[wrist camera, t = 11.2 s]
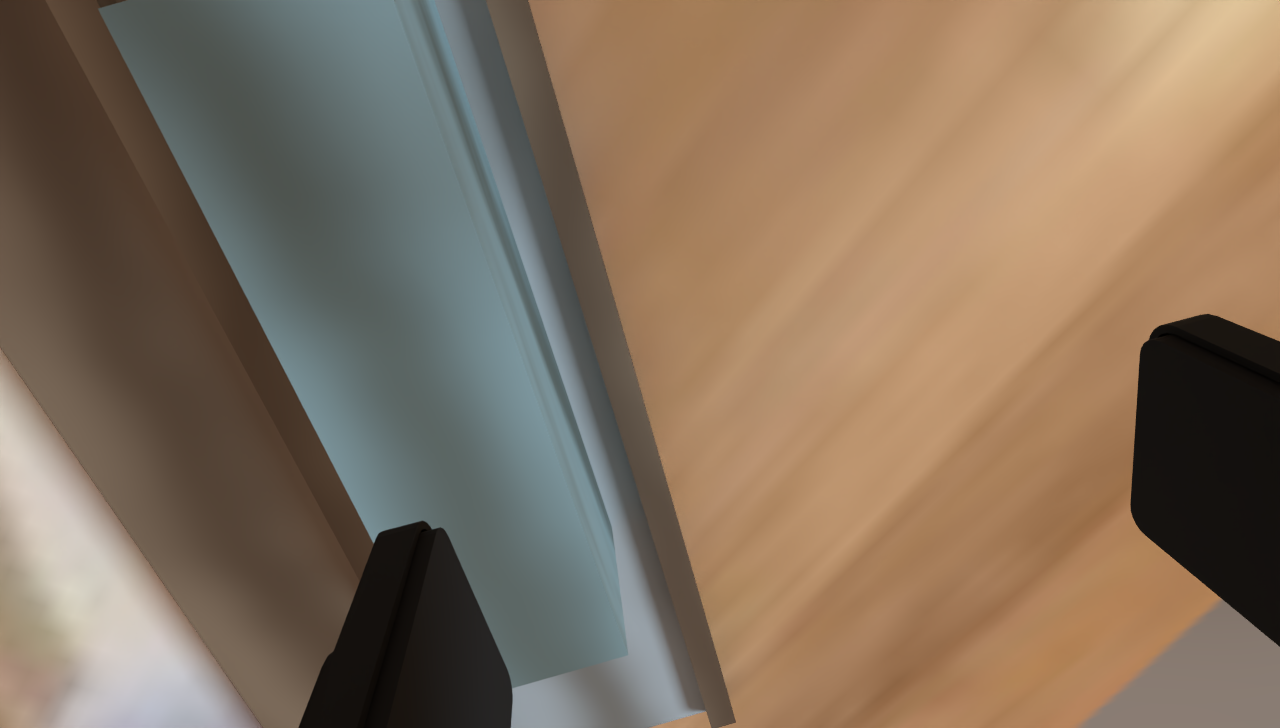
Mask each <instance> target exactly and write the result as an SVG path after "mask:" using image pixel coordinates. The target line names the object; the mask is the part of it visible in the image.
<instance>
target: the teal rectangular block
mask: <svg viewBox="0 0 1280 728" xmlns="http://www.w3.org/2000/svg"><path fill="white" fill-rule="evenodd" d="M98 10H99V12H100V14H101V16H102V18H103V20H104V22H105V24H106V26H107V27H108V29H109V31H110V33H111V35H112V37H113V39H114V41H115V43H116V45H117V47H118V49H119V51H120V53H121V55H122V57H123V59H124V60H125V62H126V64H127V66H128V68H129V70H130V72H131V74H132V76H133V78H134V80H135V82H136V84H137V86H138V88H139V90H140V91H141V93H142V95H143V97H144V99H145V101H146V103H147V105H148V107H149V109H150V111H151V113H152V115H153V117H154V119H155V121H156V123H157V124H158V126H159V128H160V130H161V132H162V134H163V136H164V138H165V140H166V142H167V144H168V146H169V148H170V150H171V152H172V154H173V155H174V157H175V159H176V161H177V163H178V165H179V167H180V169H181V171H182V173H183V175H184V177H185V179H186V181H187V183H188V185H189V186H190V188H191V190H192V192H193V194H194V196H195V198H196V200H197V202H198V204H199V206H200V208H201V210H202V212H203V214H204V216H205V218H206V219H207V221H208V223H209V225H210V227H211V229H212V231H213V233H214V235H215V237H216V239H217V241H218V243H219V245H220V247H221V249H222V250H223V252H224V254H225V256H226V258H227V260H228V262H229V264H230V266H231V268H232V270H233V272H234V274H235V276H236V278H237V280H238V282H239V283H240V285H241V287H242V289H243V291H244V293H245V295H246V297H247V299H248V301H249V303H250V305H251V307H252V309H253V311H254V313H255V314H256V316H257V318H258V320H259V322H260V324H261V326H262V328H263V330H264V332H265V334H266V336H267V338H268V340H269V342H270V344H271V346H272V347H273V349H274V351H275V353H276V355H277V357H278V359H279V361H280V363H281V365H282V367H283V369H284V371H285V373H286V375H287V377H288V378H289V380H290V382H291V384H292V386H293V388H294V390H295V392H296V394H297V396H298V398H299V400H300V402H301V404H302V406H303V408H304V409H305V411H306V413H307V415H308V417H309V419H310V421H311V423H312V425H313V427H314V429H315V431H316V433H317V435H318V437H319V439H320V441H321V442H322V444H323V446H324V448H325V450H326V452H327V454H328V456H329V458H330V460H331V462H332V464H333V466H334V468H335V470H336V472H337V473H338V475H339V477H340V479H341V481H342V483H343V485H344V487H345V489H346V491H347V493H348V495H349V497H350V499H351V501H352V503H353V505H354V506H355V508H356V510H357V512H358V514H359V516H360V518H361V520H362V522H363V524H364V526H365V528H366V530H367V532H368V534H369V536H370V537H371V539H372V541H373V543H374V542H375V539H376V537H377V535H378V534H379V533H380V532H382V531H385V530H388V529H392V528H396V527H400V526H404V525H407V524H411V523H415V522H419V521H425V522H427V523H428V524H429V525H430V527H431V528H432V529H436V528H440V527H441V528H443V529H444V530H445V531H446V533H447V535H448V536H449V539H450V541H451V543H452V545H453V548H454V550H455V552H456V554H457V557H458V559H459V561H460V563H461V566H462V568H463V570H464V573H465V575H466V577H467V579H468V582H469V584H470V586H471V588H472V591H473V593H474V595H475V597H476V600H477V602H478V604H479V606H480V609H481V611H482V613H483V615H484V618H485V620H486V622H487V624H488V627H489V629H490V631H491V633H492V636H493V638H494V640H495V643H496V645H497V647H498V649H499V652H500V654H501V656H502V658H503V661H504V663H505V665H506V667H507V670H508V672H509V676H510V679H511V685H512V688H515V687H519V686H522V685H526V684H529V683H533V682H536V681H540V680H543V679H547V678H550V677H554V676H557V675H561V674H564V673H568V672H571V671H575V670H578V669H582V668H585V667H589V666H592V665H596V664H599V663H603V662H606V661H610V660H613V659H617V658H620V657H624V656H627V655H628V648H627V640H626V633H625V625H624V617H623V609H622V602H621V594H620V586H619V578H618V571H617V563H616V555H615V547H614V539H613V532H612V526H611V523H610V520H609V517H608V514H607V511H606V508H605V505H604V502H603V499H602V496H601V493H600V490H599V487H598V484H597V481H596V478H595V475H594V472H593V469H592V466H591V464H590V461H589V458H588V455H587V452H586V449H585V446H584V443H583V440H582V437H581V434H580V431H579V428H578V425H577V422H576V419H575V416H574V413H573V410H572V407H571V404H570V401H569V398H568V395H567V392H566V389H565V386H564V383H563V380H562V378H561V375H560V372H559V369H558V366H557V363H556V360H555V357H554V354H553V351H552V348H551V345H550V342H549V339H548V336H547V333H546V330H545V327H544V324H543V321H542V318H541V315H540V312H539V309H538V306H537V303H536V300H535V297H534V294H533V292H532V289H531V286H530V283H529V280H528V277H527V274H526V271H525V268H524V265H523V262H522V259H521V256H520V253H519V250H518V247H517V244H516V241H515V238H514V235H513V232H512V229H511V226H510V223H509V220H508V217H507V214H506V211H505V208H504V206H503V203H502V200H501V197H500V194H499V191H498V188H497V185H496V182H495V179H494V176H493V173H492V170H491V167H490V164H489V161H488V158H487V155H486V152H485V149H484V146H483V143H482V140H481V137H480V134H479V131H478V128H477V125H476V122H475V120H474V117H473V114H472V111H471V108H470V105H469V102H468V99H467V96H466V93H465V90H464V87H463V84H462V81H461V78H460V75H459V72H458V69H457V66H456V63H455V60H454V57H453V54H452V51H451V48H450V45H449V42H448V39H447V36H446V34H445V31H444V28H443V25H442V22H441V19H440V16H439V13H438V10H437V7H436V4H435V1H434V0H127V1H123V2H119V3H116V4H112V5H109V6H105V7H102V8H98Z"/></svg>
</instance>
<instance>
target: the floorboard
mask: <svg viewBox="0 0 1280 728" xmlns="http://www.w3.org/2000/svg"><path fill="white" fill-rule="evenodd" d="M123 1H127V0H0V347H1V349H2V350H3V352H4V353H5V355H6V356H7V358H8V359H9V360H10V362H11V363H12V365H13V366H14V368H15V369H16V371H17V372H18V374H19V375H20V376H21V378H22V379H23V381H24V382H25V384H26V385H27V387H28V388H29V389H30V391H31V392H32V394H33V395H34V397H35V398H36V400H37V401H38V403H39V404H40V405H41V407H42V408H43V410H44V411H45V413H46V414H47V416H48V417H49V418H50V420H51V421H52V423H53V424H54V426H55V427H56V429H57V430H58V432H59V433H60V434H61V436H62V437H63V439H64V440H65V442H66V443H67V445H68V446H69V447H70V449H71V450H72V452H73V453H74V455H75V456H76V458H77V459H78V461H79V462H80V463H81V465H82V466H83V468H84V469H85V471H86V472H87V474H88V475H89V476H90V478H91V479H92V481H93V482H94V484H95V485H96V487H97V488H98V489H99V491H100V492H101V494H102V495H103V497H104V498H105V500H106V501H107V503H108V504H109V505H110V507H111V508H112V510H113V511H114V513H115V514H116V516H117V517H118V518H119V520H120V521H121V523H122V524H123V526H124V527H125V529H126V530H127V532H128V533H129V534H130V536H131V537H132V539H133V540H134V542H135V543H136V545H137V546H138V547H139V549H140V550H141V552H142V553H143V555H144V556H145V558H146V559H147V561H148V562H149V563H150V565H151V566H152V568H153V569H154V571H155V572H156V574H157V575H158V576H159V578H160V579H161V581H162V582H163V584H164V585H165V587H166V588H167V590H168V591H169V592H170V594H171V595H172V597H173V598H174V600H175V601H176V603H177V604H178V605H179V607H180V608H181V610H182V611H183V613H184V614H185V616H186V617H187V618H188V620H189V621H190V623H191V624H192V626H193V627H194V629H195V630H196V632H197V633H198V634H199V636H200V637H201V639H202V640H203V642H204V643H205V645H206V646H207V647H208V649H209V650H210V652H211V653H212V655H213V656H214V658H215V659H216V661H217V662H218V663H219V665H220V666H221V668H222V669H223V671H224V672H225V674H226V675H227V676H228V678H229V679H230V681H231V682H232V684H233V685H234V687H235V688H236V690H237V691H238V692H239V694H240V695H241V697H242V698H243V700H244V701H245V703H246V704H247V705H248V707H249V708H250V710H251V711H252V713H253V714H254V716H255V717H256V718H257V720H258V721H259V723H260V724H261V726H262V727H263V728H298V727H299V725H300V722H301V719H302V717H303V714H304V712H305V709H306V707H307V704H308V701H309V699H310V696H311V694H312V691H313V688H314V686H315V683H316V681H317V678H318V675H319V673H320V670H321V668H322V666H323V664H324V662H325V660H326V658H327V656H328V655H329V654H331V653H332V652H333V651H334V649H335V646H336V643H337V641H338V638H339V635H340V633H341V630H342V627H343V625H344V622H345V619H346V617H347V614H348V611H349V609H350V606H351V603H352V601H353V598H354V595H355V593H356V590H357V587H358V585H359V582H360V579H361V577H362V574H363V571H364V569H365V566H366V563H367V561H368V558H369V555H370V553H371V550H372V547H373V545H374V543H373V541H372V539H371V537H370V536H369V534H368V532H367V530H366V528H365V526H364V524H363V522H362V520H361V518H360V516H359V514H358V512H357V510H356V508H355V506H354V505H353V503H352V501H351V499H350V497H349V495H348V493H347V491H346V489H345V487H344V485H343V483H342V481H341V479H340V477H339V475H338V473H337V472H336V470H335V468H334V466H333V464H332V462H331V460H330V458H329V456H328V454H327V452H326V450H325V448H324V446H323V444H322V442H321V441H320V439H319V437H318V435H317V433H316V431H315V429H314V427H313V425H312V423H311V421H310V419H309V417H308V415H307V413H306V411H305V409H304V408H303V406H302V404H301V402H300V400H299V398H298V396H297V394H296V392H295V390H294V388H293V386H292V384H291V382H290V380H289V378H288V377H287V375H286V373H285V371H284V369H283V367H282V365H281V363H280V361H279V359H278V357H277V355H276V353H275V351H274V349H273V347H272V346H271V344H270V342H269V340H268V338H267V336H266V334H265V332H264V330H263V328H262V326H261V324H260V322H259V320H258V318H257V316H256V314H255V313H254V311H253V309H252V307H251V305H250V303H249V301H248V299H247V297H246V295H245V293H244V291H243V289H242V287H241V285H240V283H239V282H238V280H237V278H236V276H235V274H234V272H233V270H232V268H231V266H230V264H229V262H228V260H227V258H226V256H225V254H224V252H223V250H222V249H221V247H220V245H219V243H218V241H217V239H216V237H215V235H214V233H213V231H212V229H211V227H210V225H209V223H208V221H207V219H206V218H205V216H204V214H203V212H202V210H201V208H200V206H199V204H198V202H197V200H196V198H195V196H194V194H193V192H192V190H191V188H190V186H189V185H188V183H187V181H186V179H185V177H184V175H183V173H182V171H181V169H180V167H179V165H178V163H177V161H176V159H175V157H174V155H173V154H172V152H171V150H170V148H169V146H168V144H167V142H166V140H165V138H164V136H163V134H162V132H161V130H160V128H159V126H158V124H157V123H156V121H155V119H154V117H153V115H152V113H151V111H150V109H149V107H148V105H147V103H146V101H145V99H144V97H143V95H142V93H141V91H140V90H139V88H138V86H137V84H136V82H135V80H134V78H133V76H132V74H131V72H130V70H129V68H128V66H127V64H126V62H125V60H124V59H123V57H122V55H121V53H120V51H119V49H118V47H117V45H116V43H115V41H114V39H113V37H112V35H111V33H110V31H109V29H108V27H107V26H106V24H105V22H104V20H103V18H102V16H101V14H100V12H99V10H98V8H102V7H105V6H109V5H112V4H116V3H119V2H123ZM434 1H435V4H436V7H437V10H438V13H439V16H440V19H441V22H442V25H443V28H444V31H445V34H446V36H447V39H448V42H449V45H450V48H451V51H452V54H453V57H454V60H455V63H456V66H457V69H458V72H459V75H460V78H461V81H462V84H463V87H464V90H465V93H466V96H467V99H468V102H469V105H470V108H471V111H472V114H473V117H474V120H475V122H476V125H477V128H478V131H479V134H480V137H481V140H482V143H483V146H484V149H485V152H486V155H487V158H488V161H489V164H490V167H491V170H492V173H493V176H494V179H495V182H496V185H497V188H498V191H499V194H500V197H501V200H502V203H503V206H504V208H505V211H506V214H507V217H508V220H509V223H510V226H511V229H512V232H513V235H514V238H515V241H516V244H517V247H518V250H519V253H520V256H521V259H522V262H523V265H524V268H525V271H526V274H527V277H528V280H529V283H530V286H531V289H532V292H533V294H534V297H535V300H536V303H537V306H538V309H539V312H540V315H541V318H542V321H543V324H544V327H545V330H546V333H547V336H548V339H549V342H550V345H551V348H552V351H553V354H554V357H555V360H556V363H557V366H558V369H559V372H560V375H561V378H562V380H563V383H564V386H565V389H566V392H567V395H568V398H569V401H570V404H571V407H572V410H573V413H574V416H575V419H576V422H577V425H578V428H579V431H580V434H581V437H582V440H583V443H584V446H585V449H586V452H587V455H588V458H589V461H590V464H591V466H592V469H593V472H594V475H595V478H596V481H597V484H598V487H599V490H600V493H601V496H602V499H603V502H604V505H605V508H606V511H607V514H608V517H609V520H610V523H611V526H612V532H613V539H614V547H615V555H616V563H617V571H618V578H619V586H620V594H621V602H622V609H623V617H624V625H625V633H626V640H627V648H628V655H627V656H624V657H620V658H617V659H613V660H610V661H606V662H603V663H599V664H596V665H592V666H589V667H585V668H582V669H578V670H575V671H571V672H568V673H564V674H561V675H557V676H554V677H550V678H547V679H543V680H540V681H536V682H533V683H529V684H526V685H522V686H519V687H515V688H512V693H513V704H512V718H511V728H649V727H652V726H656V725H659V724H663V723H666V722H670V721H673V720H677V719H680V718H684V717H687V716H691V715H694V714H698V713H701V712H705V711H706V712H707V715H708V718H709V721H710V725H711V728H718V727H722V726H725V725H729V724H732V723H736V721H735V718H734V714H733V710H732V707H731V703H730V700H729V696H728V693H727V689H726V686H725V682H724V679H723V675H722V672H721V668H720V665H719V661H718V658H717V654H716V651H715V648H714V644H713V641H712V637H711V634H710V630H709V627H708V623H707V620H706V616H705V613H704V609H703V606H702V602H701V599H700V596H699V592H698V589H697V585H696V582H695V578H694V575H693V571H692V568H691V564H690V561H689V557H688V554H687V550H686V547H685V543H684V540H683V537H682V533H681V530H680V526H679V523H678V519H677V516H676V512H675V509H674V505H673V502H672V498H671V495H670V491H669V488H668V485H667V481H666V478H665V474H664V471H663V467H662V464H661V460H660V457H659V453H658V450H657V446H656V443H655V439H654V436H653V432H652V429H651V426H650V422H649V419H648V415H647V412H646V408H645V405H644V401H643V398H642V394H641V391H640V387H639V384H638V380H637V377H636V374H635V370H634V367H633V363H632V360H631V356H630V353H629V349H628V346H627V342H626V339H625V335H624V332H623V328H622V325H621V321H620V318H619V315H618V311H617V308H616V304H615V301H614V297H613V294H612V290H611V287H610V283H609V280H608V276H607V273H606V269H605V266H604V263H603V259H602V256H601V252H600V249H599V245H598V242H597V238H596V235H595V231H594V228H593V224H592V221H591V217H590V214H589V210H588V207H587V204H586V200H585V197H584V193H583V190H582V186H581V183H580V179H579V176H578V172H577V169H576V165H575V162H574V158H573V155H572V152H571V148H570V145H569V141H568V138H567V134H566V131H565V127H564V124H563V120H562V117H561V113H560V110H559V106H558V103H557V99H556V96H555V93H554V89H553V86H552V82H551V79H550V75H549V72H548V68H547V65H546V61H545V58H544V54H543V51H542V47H541V44H540V41H539V37H538V34H537V30H536V27H535V23H534V20H533V16H532V13H531V9H530V6H529V2H528V0H434Z"/></svg>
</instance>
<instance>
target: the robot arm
mask: <svg viewBox="0 0 1280 728" xmlns="http://www.w3.org/2000/svg"><path fill="white" fill-rule="evenodd" d="M1131 513H1132V516H1133V519H1134V521H1135V523H1136V525H1137V526H1138V528H1139V529H1140V530H1141V531H1142V532H1143V533H1144V534H1145V535H1146V536H1147V537H1148V538H1149V539H1150V540H1152V541H1153V542H1154V543H1155V544H1156V545H1158V546H1159V547H1160V548H1161V549H1162V550H1164V551H1165V552H1166V553H1167V554H1169V555H1170V556H1171V557H1172V558H1173V559H1175V560H1176V561H1177V562H1178V563H1179V564H1181V565H1182V566H1183V567H1184V568H1185V569H1187V570H1188V571H1189V572H1190V573H1191V574H1193V575H1194V576H1195V577H1196V578H1197V579H1199V580H1200V581H1201V582H1202V583H1204V584H1205V585H1206V586H1207V587H1208V588H1210V589H1211V590H1212V591H1213V592H1214V593H1216V594H1217V595H1218V596H1219V597H1220V598H1222V599H1223V600H1224V601H1225V602H1227V603H1228V604H1229V605H1230V606H1231V607H1232V608H1234V609H1235V610H1236V611H1237V612H1239V613H1240V614H1241V615H1242V616H1243V617H1245V618H1246V619H1247V620H1248V621H1250V622H1251V623H1252V624H1253V625H1254V626H1255V627H1257V628H1258V629H1259V630H1260V631H1261V632H1263V633H1264V634H1265V635H1266V636H1268V637H1269V638H1270V639H1271V640H1273V641H1274V642H1275V643H1276V644H1277V645H1278V646H1280V341H1277V340H1275V339H1272V338H1270V337H1267V336H1265V335H1262V334H1260V333H1257V332H1255V331H1252V330H1250V329H1247V328H1245V327H1243V326H1240V325H1238V324H1235V323H1233V322H1230V321H1228V320H1225V319H1223V318H1220V317H1218V316H1214V315H1210V314H1204V315H1199V316H1195V317H1191V318H1187V319H1183V320H1180V321H1176V322H1172V323H1168V324H1164V325H1161V326H1159V327H1157V328H1156V329H1154V330H1153V332H1152V334H1151V335H1150V338H1149V340H1148V341H1147V342H1145V343H1144V344H1143V346H1142V348H1141V352H1140V362H1139V378H1138V394H1137V410H1136V426H1135V442H1134V458H1133V473H1132V489H1131ZM512 704H513V693H512V685H511V679H510V676H509V672H508V670H507V667H506V665H505V663H504V661H503V658H502V656H501V654H500V652H499V649H498V647H497V645H496V643H495V640H494V638H493V636H492V633H491V631H490V629H489V627H488V624H487V622H486V620H485V618H484V615H483V613H482V611H481V609H480V606H479V604H478V602H477V600H476V597H475V595H474V593H473V591H472V588H471V586H470V584H469V582H468V579H467V577H466V575H465V573H464V570H463V568H462V566H461V563H460V561H459V559H458V557H457V554H456V552H455V550H454V548H453V545H452V543H451V541H450V539H449V536H448V535H447V533H446V531H445V530H444V529H443V528H441V527H440V528H436V529H432V528H431V527H430V525H429V524H428V523H427V522H425V521H419V522H415V523H411V524H407V525H404V526H400V527H396V528H392V529H388V530H385V531H382V532H380V533H379V534H378V535H377V537H376V539H375V542H374V545H373V547H372V550H371V553H370V555H369V558H368V561H367V563H366V566H365V569H364V571H363V574H362V577H361V579H360V582H359V585H358V587H357V590H356V593H355V595H354V598H353V601H352V603H351V606H350V609H349V611H348V614H347V617H346V619H345V622H344V625H343V627H342V630H341V633H340V635H339V638H338V641H337V643H336V646H335V649H334V651H333V652H332V653H331V654H329V655H328V656H327V658H326V660H325V662H324V664H323V666H322V668H321V670H320V673H319V675H318V678H317V681H316V683H315V686H314V688H313V691H312V694H311V696H310V699H309V701H308V704H307V707H306V709H305V712H304V714H303V717H302V719H301V722H300V725H299V727H298V728H511V718H512Z"/></svg>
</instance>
